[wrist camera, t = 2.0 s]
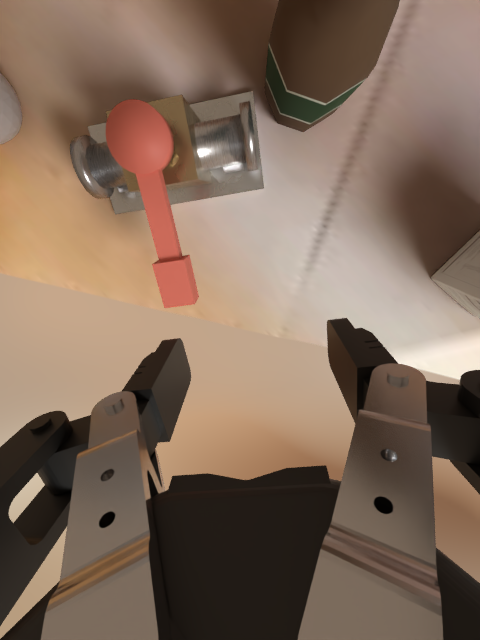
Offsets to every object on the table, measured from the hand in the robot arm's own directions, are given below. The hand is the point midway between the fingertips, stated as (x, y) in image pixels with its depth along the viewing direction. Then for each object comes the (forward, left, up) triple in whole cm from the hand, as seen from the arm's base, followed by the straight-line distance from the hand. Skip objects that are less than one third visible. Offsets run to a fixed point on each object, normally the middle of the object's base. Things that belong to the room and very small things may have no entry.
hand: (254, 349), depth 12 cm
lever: (-6, -7, -15) cm, 17 cm away
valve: (-11, -7, -26) cm, 29 cm away
